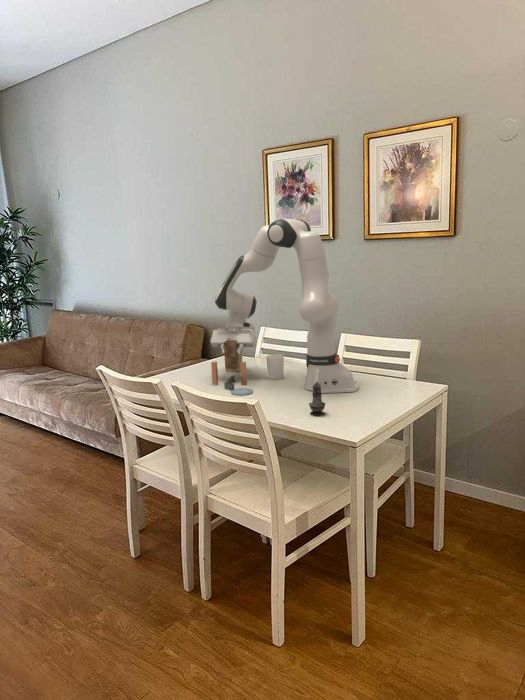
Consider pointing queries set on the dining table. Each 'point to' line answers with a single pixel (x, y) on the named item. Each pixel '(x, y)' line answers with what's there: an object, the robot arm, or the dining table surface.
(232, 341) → the block
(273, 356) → the white cup
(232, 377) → the wire course
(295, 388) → the dining table surface
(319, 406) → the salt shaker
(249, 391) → the pad
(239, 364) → the coffee cup
